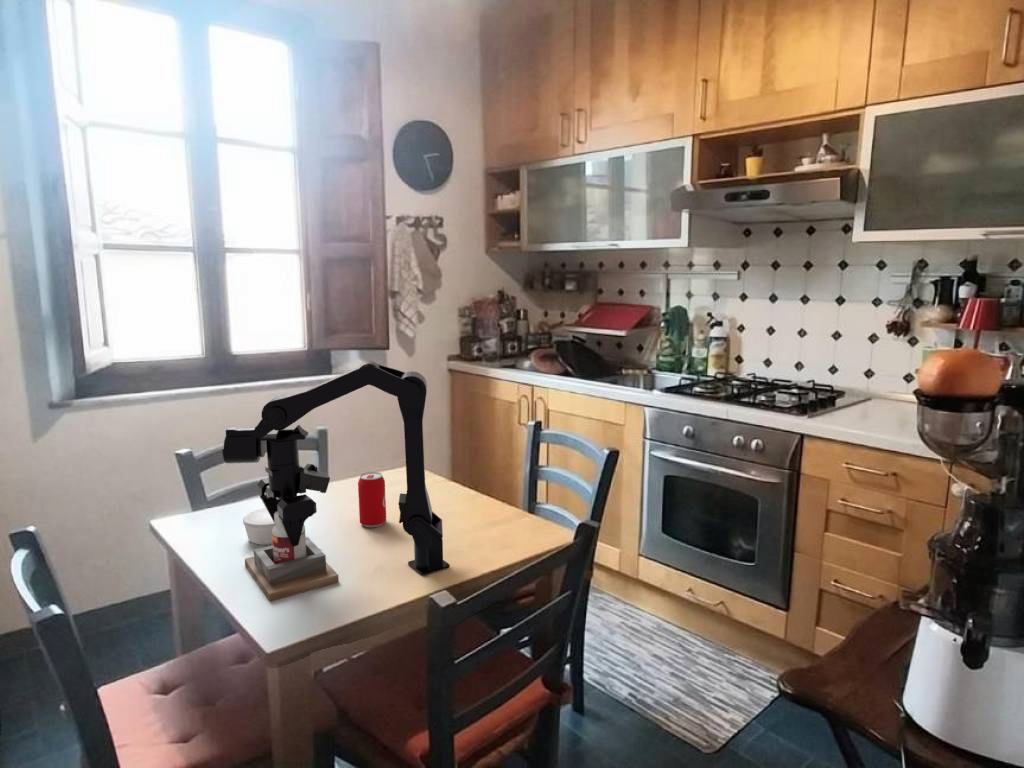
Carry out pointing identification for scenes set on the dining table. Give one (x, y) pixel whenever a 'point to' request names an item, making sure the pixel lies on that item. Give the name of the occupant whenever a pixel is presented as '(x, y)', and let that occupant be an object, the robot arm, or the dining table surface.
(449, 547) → the dining table surface
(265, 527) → the ramekin
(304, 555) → the pill bottle
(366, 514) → the beverage can
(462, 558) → the dining table surface
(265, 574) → the socket board
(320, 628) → the dining table surface
